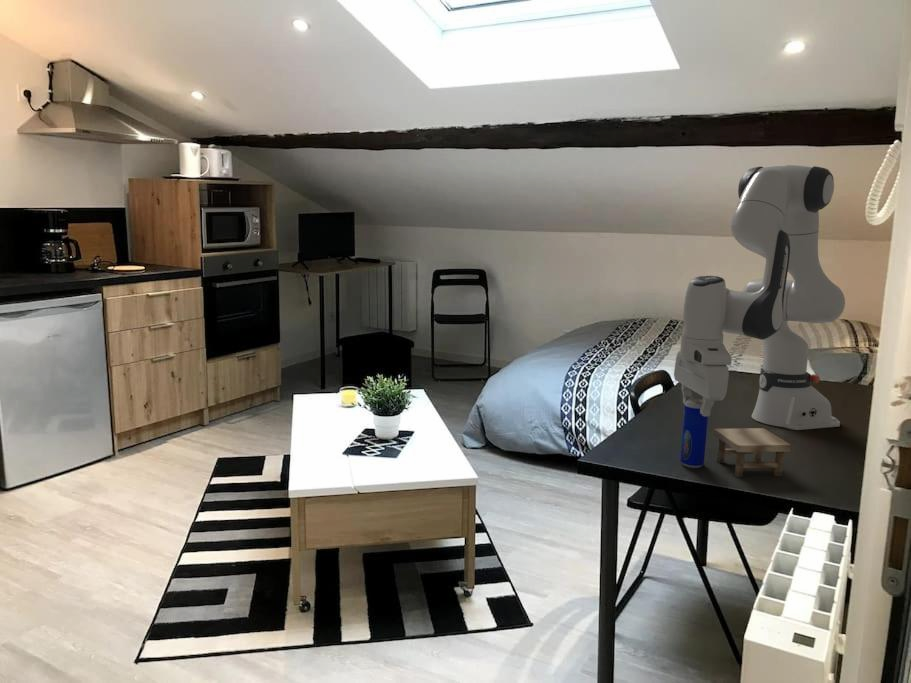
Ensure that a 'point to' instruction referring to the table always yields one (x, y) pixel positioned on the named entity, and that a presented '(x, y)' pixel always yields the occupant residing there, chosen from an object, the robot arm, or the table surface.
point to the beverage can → (693, 434)
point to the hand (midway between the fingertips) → (695, 409)
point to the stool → (751, 448)
